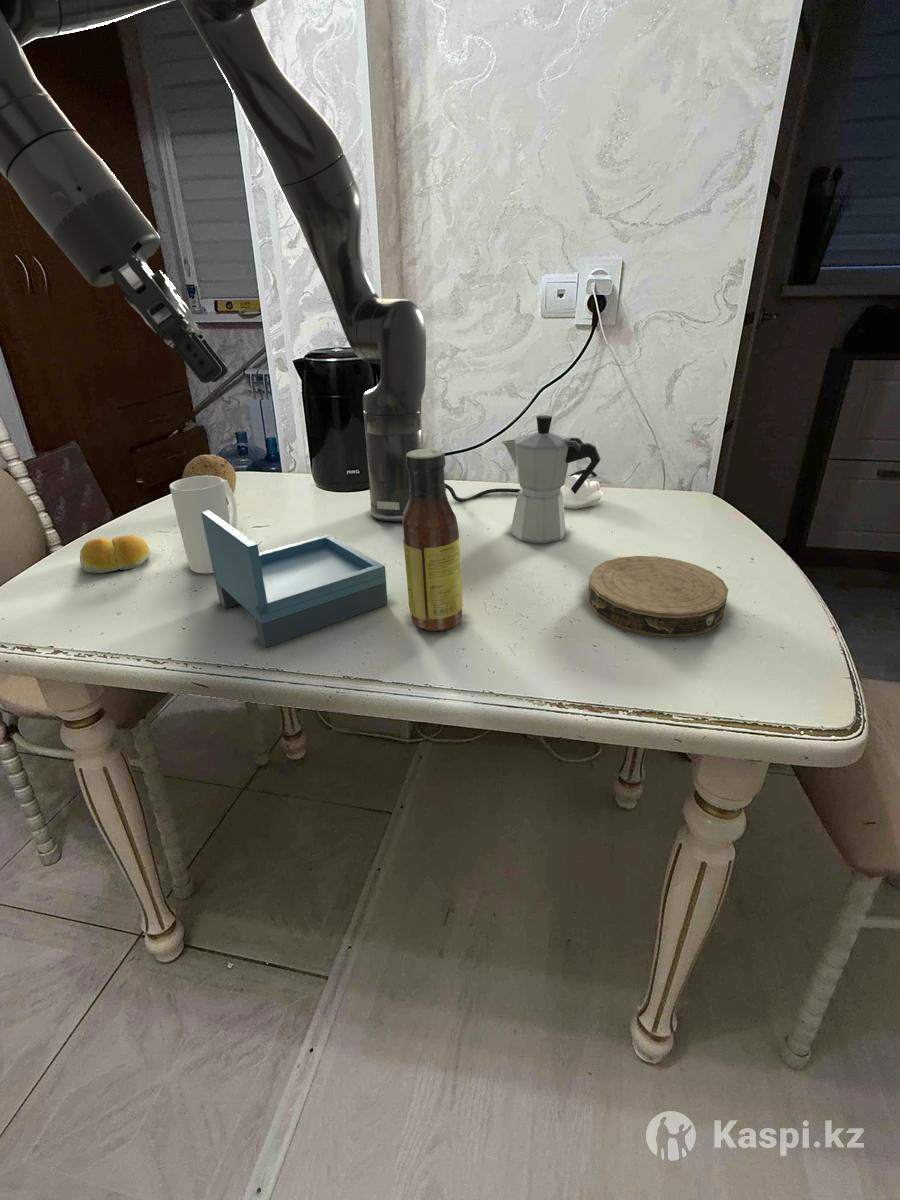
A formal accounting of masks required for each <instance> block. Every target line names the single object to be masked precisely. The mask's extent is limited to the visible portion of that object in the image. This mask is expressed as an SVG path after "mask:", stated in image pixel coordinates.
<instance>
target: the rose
mask: <svg viewBox="0 0 900 1200" xmlns="http://www.w3.org/2000/svg"><path fill="white" fill-rule="evenodd" d="M581 475H582V474H579V475H573V476H568V475H567V476H568V477H566V478H565V483H564V485H563V486H562V487H561V489H560V491H561V492H562V496H563V507H564V509H572V510H573V509H574V510H577V509H582V508H587V507H588V508H589V507H595V506H597V504H598V503H599V502H600V500H601V499H602V497H603V491H602V490H601V485H600V482H598V481H596V480H592V481H590V480H589V477H588V478H587V479H586V480H585V482H584V483H583V484H582V486H581V487H580V488H579V490H578V491H577V492H576V494H574V492H573V491H572V490H571V488H572V487H573V485H574V484H575V483H576V481H577V480H578V479H579V477H580V476H581Z"/></svg>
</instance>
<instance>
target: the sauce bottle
mask: <svg viewBox="0 0 900 1200" xmlns="http://www.w3.org/2000/svg"><path fill="white" fill-rule="evenodd" d="M446 463H447V462H446V455H445V451H443V450H441V449H437V448H423V449H419V450H414V451H410V452H408V453H407V454H406V466H407V468H408V470H409V479H410V499H409V501H408V503H407V505H406V507H405V509H404V512H403V518H402V521H401V524H402V533H403V541H402V542H403V543H402V544H403V552H404V564H405V574H406V586H407V587H406V588H407V597H408V599H407V600H408V610H409V612H410V614H411V619H412V624H413V625H414V626H415V627H417V628H420V629H423V630H425V631H430V632H438V631H439V632H441V631H447V630H450V629H452V628H455V627H456V626H457V625H459V624H460V622H461V621H462V619H463V606H464V603H463V583H462V582H463V581H462V562H461V544H460V543H461V542H460V530H459V525H458V521H457V520H458V519H457V516H456V514H455V512H454V511H453V508H452V506H451V504H450V502H449V499H448V495H447V488H446V487H445V484H446V482H445V466H446Z"/></svg>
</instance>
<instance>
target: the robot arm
mask: <svg viewBox="0 0 900 1200" xmlns="http://www.w3.org/2000/svg"><path fill="white" fill-rule="evenodd" d="M173 1H174V2H175V0H0V173H1V174H2V175H3V176H4V178H5V179H6V180H7V181H8V183H9V184H10V185H11V187H12V188H13V189H14V191H15V192H16V193H17V195H18V196H19V198H20V199H21V201H22V203H23V204H24V205H25V207H26V208H27V210H28V211H29V212H30V214H31V215H32V216H33V217H34V219H35V220H36V221H37V222H38V223H39V225H41V227H42V228H43V230H44V231H45V232H46V233H47V234H48V235H49V236H50V238H51V239H52V240H53V242H54V243H55V244H56V245H57V246H58V248H59V249H60V250H61V251H62V252H63V254H64V255H65V256H66V257H67V258H68V259H69V261H70V262H71V264H73V266H74V267H75V268H76V270H78V272H79V273H80V274H81V275H82V277H83V278H84V279H85V280H86V282H87V283H88V284H89V285H91V286H92V287H94V288H105V287H108V286H111V285H114V284H116V286H119V288H120V289H121V291H122V292H124V293H125V295H124V299H125V300H126V301H127V303H128V305H130V306H131V308H132V309H133V310H134V311H135V312H137V314H139V315H140V317H141V318H142V319H143V321H144V322H145V324H146V325H147V326H148V327H149V328H150V329H151V330H152V331H153V332H154V333H155V335H156V336H157V337H158V338H159V339H160V338H161V340H162V341H163V342H164V343H165V344H166V345H167V346H169V347H170V348H171V349H174V350H175V351H176V353H177V354H178V355H179V356H180V358H181V359H182V360H183V361H184V363H186V365H187V366H188V367H189V369H190V370H191V372H192V373H193V374H194V375H195V376H196V377H197V378H198V380H199V381H200V382H201V383H203V384H209V383H210V382H212V383H216V382H218V381H219V380H221V379H222V378H224V377H225V376H227V374H228V373H229V368H228V366H227V365H226V364H225V362H223V360H222V359H221V357H220V356H219V354H218V353H216V351H215V349H213V348H212V346H211V345H210V343H209V342H208V341H207V339H206V337H205V335H204V334H205V332H203V330H202V327H201V326H200V325H199V324H197V323H196V322H195V321H194V319H195V316H194V314H193V312H192V311H191V310H190V308H189V307H188V306H187V304H186V303H185V302H184V301H183V299H181V297H180V296H179V295H178V290H177V289H176V287H175V286H174V284H173V283H172V282H171V281H170V280H169V278H168V277H167V276H166V274H163V272H162V271H161V270H158V271H156V272H155V273H153V271H152V270H151V269H150V267H149V266H148V260H149V258H151V257H153V256H154V255H155V253H156V252H157V251H158V249H159V247H160V245H161V238H160V235H159V233H158V232H157V230H155V228H154V226H153V225H152V223H151V222H150V221H149V220H148V219H147V217H146V216H145V215H144V214H143V212H142V211H141V210H140V208H139V206H138V205H137V204H136V203H135V202H134V200H133V198H131V196H130V194H129V193H128V192H127V190H125V188H124V187H123V185H122V184H121V183H120V181H119V180H118V179H117V177H116V176H115V174H114V173H113V172H112V171H111V170H110V168H109V167H108V166H107V164H106V163H105V162H104V161H103V159H102V158H101V157H100V156H99V154H97V152H96V151H95V150H94V148H92V147H91V146H90V145H89V144H88V143H87V141H85V140H84V138H83V137H82V136H81V134H80V133H79V132H78V131H77V130H76V128H75V127H74V126H73V125H72V123H71V122H70V121H69V119H68V117H67V116H66V115H65V113H64V112H63V111H62V110H61V109H60V107H59V105H58V104H57V103H56V102H55V100H54V99H53V98H52V96H51V95H50V93H48V91H47V90H46V88H44V87H43V85H42V84H41V82H40V80H38V79H37V77H36V75H35V73H34V71H33V69H32V66H31V65H30V63H29V60H28V59H27V57H26V54H25V53H24V50H23V47H24V46H25V45H26V44H29V43H30V42H32V41H34V40H36V39H41V38H49V37H56V36H59V35H60V36H61V35H65V34H66V35H67V34H70V33H76V32H80V31H84V30H88V29H93V28H96V27H100V26H104V25H108V24H110V23H112V22H117V21H119V20H122V19H125V18H128V17H130V16H133V15H135V14H138V13H141V12H143V11H146V10H149V9H151V8H152V9H153V8H155V7H157V6H160V5H165V4H167V3H170V2H173ZM267 1H268V0H180V2H181V4H182V6H183V7H184V9H185V11H186V13H187V15H188V17H189V18H190V21H191V22H192V24H193V25H194V27H195V28H196V30H197V33H199V36H200V37H201V39H202V41H203V42H204V44H205V46H206V47H207V50H208V51H209V52H210V55H211V56H212V58H213V60H214V61H215V63H216V65H217V67H218V69H219V70H220V72H221V74H222V75H223V77H224V79H225V80H226V83H227V84H228V86H229V88H230V89H231V92H232V94H233V95H234V97H235V99H236V101H237V103H238V104H239V108H240V109H241V111H242V113H243V115H244V117H245V119H246V121H247V123H248V125H249V127H250V129H251V130H252V133H253V134H254V137H255V138H256V141H257V142H258V144H259V146H260V149H261V150H262V152H263V155H264V157H265V158H266V161H267V163H268V165H269V167H270V169H271V172H272V174H273V177H274V179H275V181H276V183H277V186H278V188H279V190H280V191H281V194H282V195H283V198H284V200H285V202H286V204H287V206H288V208H289V210H290V212H291V213H292V216H293V218H294V220H295V222H296V223H297V226H298V227H299V229H300V231H301V233H302V236H303V237H304V239H305V242H306V244H307V247H308V248H309V250H310V253H311V255H312V257H313V259H314V262H315V263H316V267H317V268H318V270H319V272H320V274H321V276H322V278H323V281H324V283H325V286H326V289H327V290H328V294H329V296H330V298H331V301H332V303H333V306H334V310H335V312H336V315H337V317H338V320H339V322H340V326H341V328H342V331H343V333H344V335H345V338H346V341H347V342H348V345H349V346H350V348H351V350H352V352H353V353H354V354H355V355H356V356H357V357H358V358H359V359H360V360H362V361H364V362H366V363H370V364H375V365H380V377H379V382H378V383H377V385H376V386H374V387H371V388H369V389H367V390H365V392H364V393H363V395H362V408H363V409H362V410H363V421H364V433H365V445H366V460H367V473H368V486H369V499H370V516H371V517H372V518H374V519H376V520H379V521H383V522H389V523H390V522H392V523H398V522H401V523H402V518H403V512H404V509H405V507H406V505H407V503H408V501H409V499H410V479H409V470H408V468H407V466H406V454H407V453H408V452H410V451H414V450H419V449H424V440H423V439H424V438H423V437H424V436H423V414H422V409H423V408H422V406H423V405H422V402H423V396H424V393H425V389H426V382H427V381H426V379H427V377H426V376H427V373H426V372H427V370H426V369H427V330H426V329H427V328H426V324H425V319H424V316H423V313H422V311H421V309H420V308H419V307H418V305H417V304H416V303H415V302H414V301H412V300H409V299H406V298H389V297H388V298H383V297H380V296H379V295H378V293H377V291H376V290H375V288H374V286H373V284H372V282H371V278H370V277H369V274H368V272H367V270H366V267H365V263H364V260H363V256H362V221H363V220H362V217H363V216H362V200H361V193H360V190H359V187H358V183H357V181H356V179H355V176H354V173H353V171H352V169H351V166H350V164H349V161H348V158H347V156H346V153H345V151H344V148H343V146H342V144H341V143H342V142H341V141H340V139H339V137H338V136H337V134H336V132H335V131H334V129H333V128H332V126H331V125H330V124H329V122H328V121H327V120H326V119H325V117H324V116H323V114H321V113H320V111H319V110H318V109H317V107H315V106H314V105H313V103H312V102H311V101H310V100H309V99H308V98H307V97H306V96H305V95H304V94H303V93H302V92H301V91H300V89H298V87H296V85H294V83H293V82H292V81H291V80H290V78H289V77H288V76H287V75H286V74H285V73H284V71H283V69H282V68H281V67H280V66H279V64H278V62H277V61H276V59H275V57H274V56H273V54H272V52H271V50H270V48H269V46H268V44H267V42H266V39H265V37H264V35H263V34H262V31H261V29H260V27H259V24H258V22H257V20H256V17H255V16H254V12H253V10H254V9H256V8H259V7H260V6H262V5H263V4H265V3H266V2H267ZM584 471H585V469H581V470H578V471H575V472H572V473H571V474H569V475H566V477H568V476H573V475H582V473H583V472H584ZM590 475H591V476H593V477H598V474H597V473H596V472H595V471H594V470H593V471H592V472H591V474H590ZM445 487H446V490H448V491H449V493H450V495H451V496H452V499H453V500H455V501H456V502H459V503H464V502H468V501H471V500H474V499H477V498H480V497H482V496H485V495H488V494H493V493H514V494H515V493H517V494H518V492H519V491H520V489H521V488H507V487H506V488H505V487H503V488H499V487H497V488H489V489H485V490H483V491H480V492H478V493H476V494H475V495H472V496H470V497H467V498H466V497H465V498H463V497H459V496H457V494H456V492H455V490H454V489H453V487H452V486H450V485H449V484H447V483H445Z"/></svg>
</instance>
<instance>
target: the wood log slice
mask: <svg viewBox="0 0 900 1200" xmlns="http://www.w3.org/2000/svg"><path fill="white" fill-rule="evenodd" d="M592 569H593V570H592V571H591V572H590V574H589V581H588V593H587V600H588V606H589V607H590V609H591V611H593V613H594V614H595V615H596V616H597V617H599V618H600V619H602V620H604V621H605V622H607V623H608V624H610V625H612V626H615V627H616V628H620V629H623V630H625V631H628V632H631V633H635V634H640V635H644V636H650V637H657V638H658V637H659V638H684V637H693V636H698V635H702V634H704V633H707V632H710V631H712V630H714V629H715V628H716V627H718V626H719V625H720V624H721V623H722V622H723V618H724V615H725V608H726V605H727V599H728V593H729V588H728V586H727V584H726V583H725V581H724V580H723V579H722V578H721V577H719V576H718V575H717V574H715V573H714V572H712V571H710V570H708V569H706V568H704V567H701V566H700V565H697V564H695V563H691V562H687V561H684V560H680V559H675V558H668V557H663V556H656V555H655V556H654V555H653V556H651V555H650V556H649V555H632V556H622V557H621V556H619V557H616V558H612V559H609V560H606V561H604V562H601V563H599V564H598V565H596V566H594V568H592Z"/></svg>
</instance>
